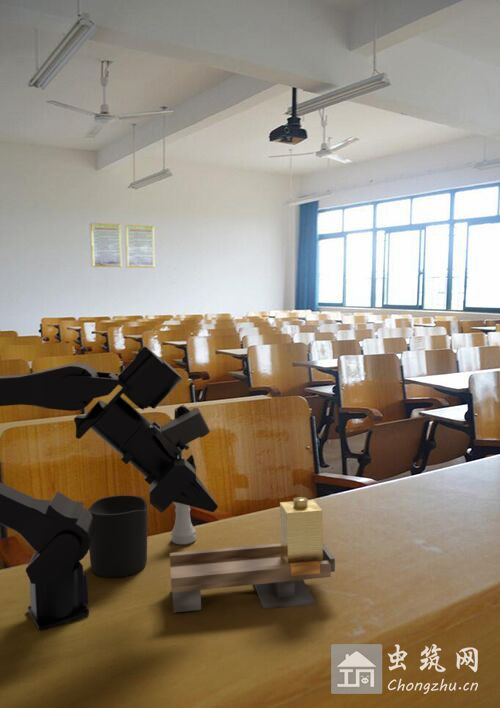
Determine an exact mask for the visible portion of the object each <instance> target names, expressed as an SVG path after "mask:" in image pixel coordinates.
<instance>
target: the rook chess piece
mask: <svg viewBox="0 0 500 708" xmlns="http://www.w3.org/2000/svg"><path fill="white" fill-rule="evenodd" d="M172 503H173V504H174V506H175V508H174V512H175V523H174V526H173V529H172V530H171V533H170V535H171V537H170V540H171V542H172V543H173V544H174V543H175V545H178V546H179V545H180V546H187V545H189V544H193V543H194V542H195V541H196V539H197V536H196V533H197V531H196V529H195V527H194V525H193V524H192V521H191V513H190V512H191V510H192V509H191V508H190V506H188V505H185V504H180V503H176V502H172Z"/></svg>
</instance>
